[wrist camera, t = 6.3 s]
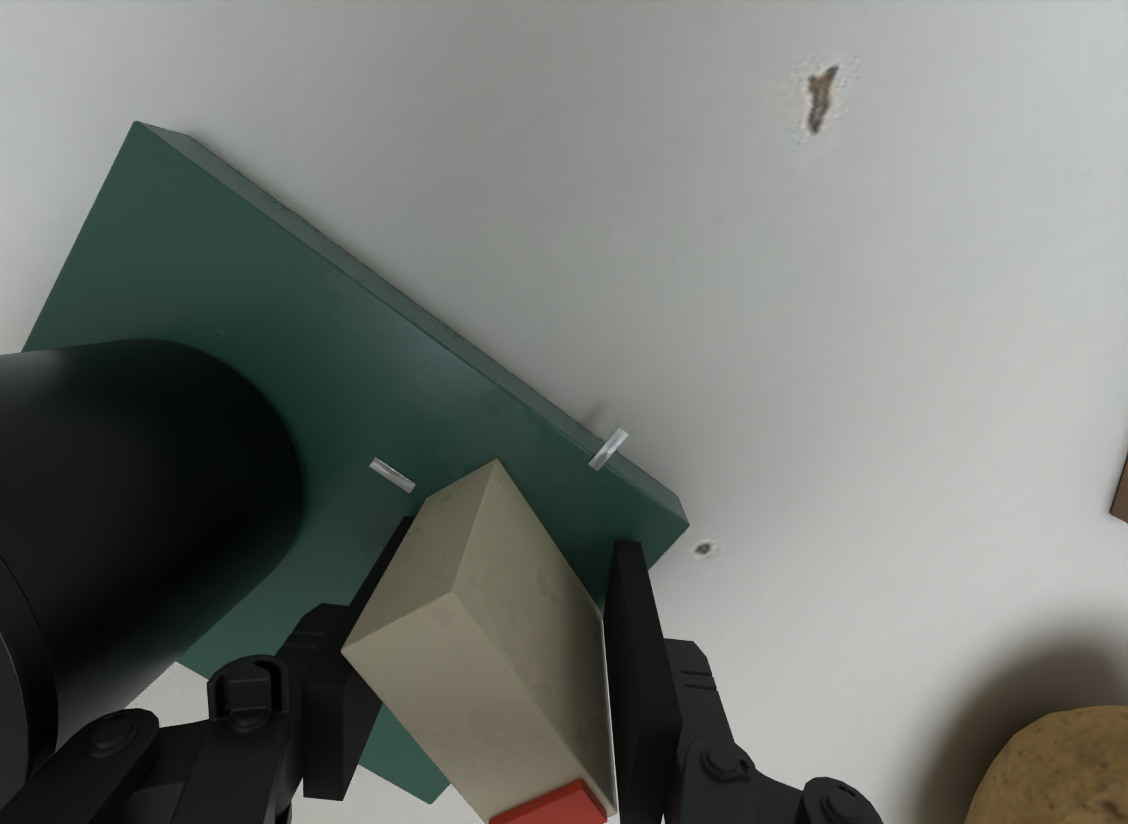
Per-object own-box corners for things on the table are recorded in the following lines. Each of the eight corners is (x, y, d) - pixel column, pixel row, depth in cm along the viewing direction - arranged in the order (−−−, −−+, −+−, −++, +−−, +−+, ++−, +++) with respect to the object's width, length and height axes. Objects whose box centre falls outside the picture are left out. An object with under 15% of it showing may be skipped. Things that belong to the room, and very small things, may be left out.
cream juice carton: (426, 497, 17) (332, 660, 10) (497, 457, 16) (448, 599, 10) (533, 646, 18) (513, 871, 12) (601, 612, 18) (620, 826, 11)
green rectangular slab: (204, 98, 15) (148, 76, 13) (737, 499, 19) (758, 531, 17) (-2, 497, 19) (-72, 529, 17) (476, 776, 22) (466, 831, 20)
